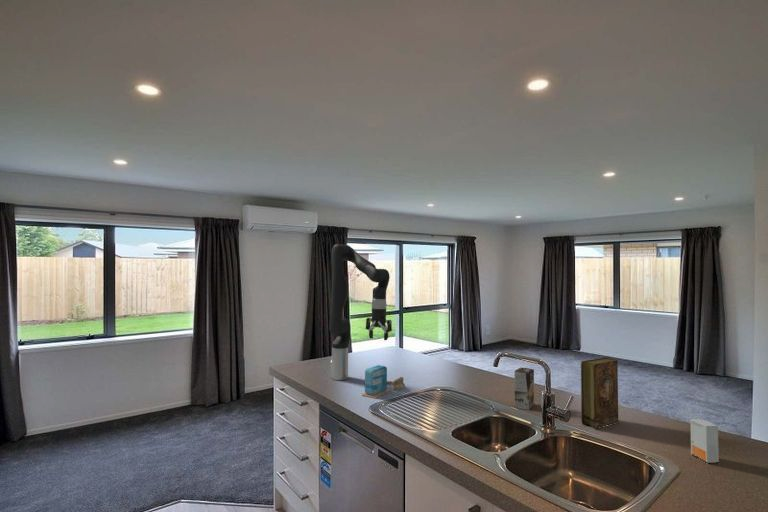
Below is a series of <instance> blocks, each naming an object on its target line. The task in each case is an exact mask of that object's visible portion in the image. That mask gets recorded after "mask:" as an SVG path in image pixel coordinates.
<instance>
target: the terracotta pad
mask: <svg viewBox="0 0 768 512" xmlns="http://www.w3.org/2000/svg"><path fill="white" fill-rule="evenodd" d="M386 392H387V393H388V392H390V389H386V390H385V391H383V392H380V393H378V394H375V395H370V394H367V393H365V392H364V393H362V394H361V396H362V397H365V398H366V397H367V398H370V399H378V398H379V397H381V395H382V396H383V395H385V394H387V393H386Z"/></svg>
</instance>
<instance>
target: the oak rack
mask: <svg viewBox="0 0 768 512" xmlns="http://www.w3.org/2000/svg"><path fill="white" fill-rule="evenodd" d="M389 384H390V385H389ZM387 385H389V386H393V391H394V392H398V391H400V390H401V389H402V388H404V387H405V386H406V385H405V383H404V376H403V377H402V376H400V377H398V378H396V379H395V380H393V381H392V380H387ZM397 390H398V391H397Z"/></svg>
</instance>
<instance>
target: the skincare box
mask: <svg viewBox="0 0 768 512" xmlns="http://www.w3.org/2000/svg"><path fill="white" fill-rule="evenodd" d="M689 423H690V455H691V454H694V455H695V456H698V457H699V458H701V459H703V460H705V461H706V462H719V463H720V460H719V459H720V458H719V425H717V424H715V423H712V422H710V421H708V420H705V419H703V418H691V419H690V422H689Z"/></svg>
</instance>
